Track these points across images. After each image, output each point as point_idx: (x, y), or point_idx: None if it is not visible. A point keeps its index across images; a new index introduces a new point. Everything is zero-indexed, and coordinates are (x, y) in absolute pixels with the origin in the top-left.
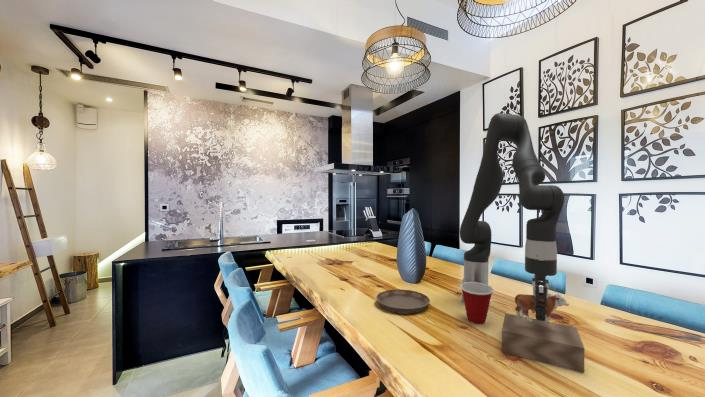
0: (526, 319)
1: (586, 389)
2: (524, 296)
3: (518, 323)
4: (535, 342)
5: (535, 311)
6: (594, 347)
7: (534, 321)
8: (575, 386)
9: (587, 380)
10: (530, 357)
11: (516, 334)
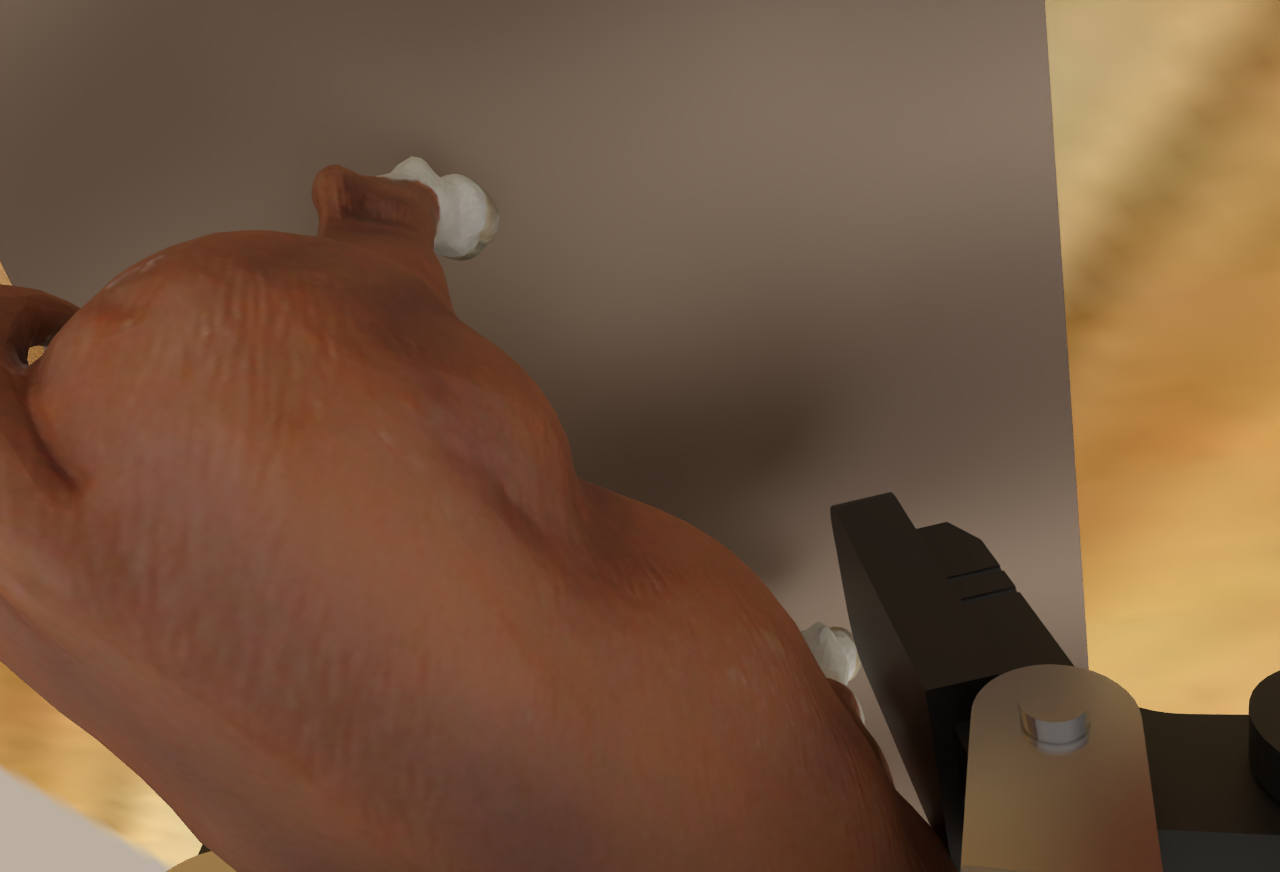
0: (914, 206)
1: (106, 816)
2: (115, 721)
3: (557, 139)
4: None
5: (837, 507)
6: None
7: (911, 348)
8: (69, 755)
9: None
10: None
11: (9, 251)
